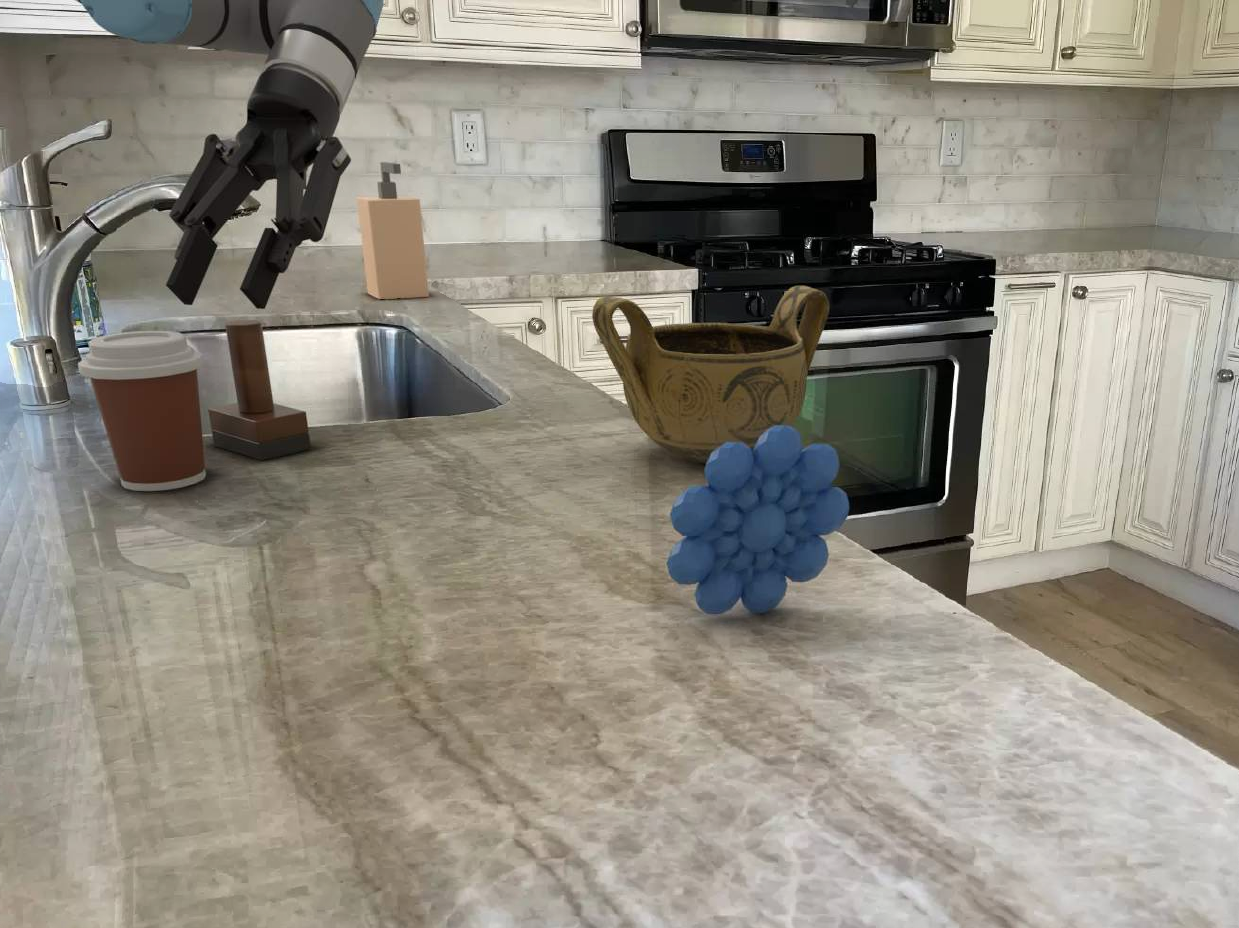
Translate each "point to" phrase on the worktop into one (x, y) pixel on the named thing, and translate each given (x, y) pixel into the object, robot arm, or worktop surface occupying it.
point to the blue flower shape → (757, 521)
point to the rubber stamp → (255, 403)
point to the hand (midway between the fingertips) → (215, 296)
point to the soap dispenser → (392, 241)
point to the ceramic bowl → (714, 372)
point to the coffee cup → (149, 406)
